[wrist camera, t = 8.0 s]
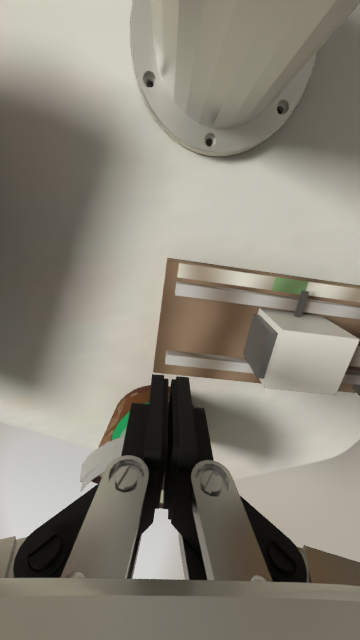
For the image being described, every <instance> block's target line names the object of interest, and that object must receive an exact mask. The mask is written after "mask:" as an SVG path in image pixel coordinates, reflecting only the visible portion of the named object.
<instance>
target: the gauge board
mask: <svg viewBox="0 0 360 640" xmlns="http://www.w3.org/2000/svg"><path fill="white" fill-rule="evenodd" d="M302 290H304V291H308V292H309V294H308V297H307V300H306V303H305V306H304V309H303V312H302V314H309V315H317V316H322V317H324V318H326V319H327V320H329V321H331V322H332V323H334V324H335V325H337V326H339V327H340V328H342V329H344V330H345V331H347V332H349V333H350V334H352V335H354V336H355V337H357V338H359V339H360V286H359V285H352V284H345V283H338V282H331V281H324V280H317V279H310V278H303V277H296V276H289V275H282V274H275V273H269V272H262V271H255V270H248V269H241V268H234V267H227V266H220V265H213V264H206V263H199V262H192V261H185V260H178V259H171V258H167V266H166V274H165V282H164V290H163V297H162V305H161V313H160V321H159V329H158V337H157V345H156V352H155V360H154V369H153V372H155V373H164V374H174V375H184V376H194V377H204V378H214V379H224V380H234V381H244V382H254V383H261V381H260V379H259V378H256V376H255V374H254V372H253V371H252V369H251V367H250V366H249V364H248V362H247V360H246V359H245V357H244V355H243V352H244V348H245V344H246V340H247V336H248V333H249V329H250V325H251V321H252V317H253V314H255V315H258V311H259V308H263V309H270V310H278V311H286V312H294V313H295V310H296V307H297V304H298V301H299V298H300V295H301V291H302ZM338 391H343V392H353V393H357V394H358V395H359V396H360V340H359V343H358V345H357V347H356V350H355V352H354V354H353V356H352V359H351V361H350V363H349V366H348V368H347V370H346V373H345V375H344V377H343V379H342V382H341V384H340V386H339V389H338Z"/></svg>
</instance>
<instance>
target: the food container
mask: <svg viewBox="0 0 360 640" xmlns="http://www.w3.org/2000/svg"><path fill="white" fill-rule="evenodd" d="M170 388H171V387H168V402H169V395H170ZM150 391H151V385H149V386H144V387H141V388H138V389H135V390H134V391H132V392H130V393H129V394H127V395H126V396H125V397H124V398H123V399H122V400H121V401H120V402H119V404H118V405H117V407H116V409H115V412H114V414H113V416H112V418H111V421H110V423H109V425H108V427H107V430H106V432H105V434H104V436H103V439H102V441H101V443H100V445H99V448H98V449H96V450H95V451H94V452H93V453H92V454H90V455H89V456H88V457H87V459H86V460H85V461H84V463H83V464H82V469H81V477H80V482H83V483H82V487H81V491H82V490H83V489H84V487H85V486H86V485H87V484H88V483H89V482H90V481H92V482H94V483H97V484H99V483H100V481H101V479H102V477H103V474H104V472H105V470H106V468H107V466H108V465H109V464H110V463H111V462H112V461H113V460H114V459H116V458H118V457H121V454H122V449H123V444H124V439H125V434H126V429H127V424H128V419H129V414H130V409H131V404H132V403H142V404H149V401H150ZM192 407H194V406H193V405H192ZM163 489H164V479H163V485H162V492H161V498H160V504H159V508H163Z"/></svg>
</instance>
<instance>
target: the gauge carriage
mask: <svg viewBox="0 0 360 640" xmlns="http://www.w3.org/2000/svg"><path fill="white" fill-rule="evenodd" d="M308 294H309V292H308V291H304V290H302V291H301V295H300V298H299V301H298V304H297V307H296V310H295V313H294V312H286V311H278V310H270V309H263V308H259V311H258V315H255V314H253V317H252V321H251V325H250V329H249V333H248V336H247V340H246V344H245V348H244V352H243V355H244V357H245V359H246V360H247V362H248V364H249V366H250V367H251V369H252V371H253V372H254V374H255V376H256V378H259V379H260V381H261V383H262V384H263V386H264V388H270V389H280V390H290V391H300V392H310V393H320V394H330V395H336V393H337V391H338V389H339V386H340V384H341V382H342V379H343V377H344V375H345V373H346V370H347V368H348V366H349V363H350V361H351V359H352V356H353V354H354V352H355V350H356V347H357V345H358V343H359V340H360V339H359V338H357V337H355V336H354V335H352V334H350V333H349V332H347V331H345V330H344V329H342V328H340V327H339V326H337V325H335V324H334V323H332V322H331V321H329V320H327V319H326V318H324V317H322V316H317V315H309V314H302V312H303V309H304V306H305V303H306V300H307V297H308Z"/></svg>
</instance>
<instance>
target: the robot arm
mask: <svg viewBox="0 0 360 640" xmlns="http://www.w3.org/2000/svg"><path fill="white" fill-rule="evenodd" d="M359 3H360V0H133V1H132V9H131V16H130V47H131V54H132V60H133V66H134V71H135V75H136V79H137V83H138V87H139V89H140V92H141V94H142V96H143V99H144V101H145V104H146V106H147V108H148V109H149V111H150V113H151V114H152V116H153V117H154V119H155V121H156V122H157V123H158V124H159V126H160V127H161V128H162V129H163V130H164V131H165V132H166V134H167V135H168V136H170V137H171V138H172V139H174V140H175V141H176V142H177V143H179V144H180V145H181V146H183V147H185V148H187V149H189V150H191V151H194V152H196V153H200V154H204V155H208V156H230V155H234V154H239V153H242V152H245V151H247V150H249V149H251V148H254V147H256V146H257V145H259V144H260V143H261V142H263V141H264V140H266V139H267V138H269V137H270V136H271V135H272V134H273V133H274V132H275V131H276V130H278V129H279V128H280V127H281V126H282V125H283V123H284V122H285V121H286V120H287V119H288V118H289V117H290V115H291V114H292V113H293V111H294V109H295V108H296V106H297V104H298V103H299V101H300V99H301V98H302V96H303V94H304V92H305V89H306V87H307V85H308V82H309V80H310V77H311V75H312V71H313V67H314V64H315V60H316V56H317V52H318V50H319V49H320V48H321V47H322V46H323V44H324V43H325V42H326V41H327V40H328V39H329V38H330V36H331V35H332V34H333V33H334V32H335V31H336V30H337V28H338V27H339V26H340V25H341V24H342V23H343V22H344V20H345V19H346V18H347V17H348V16H349V15H350V14H351V12H352V11H353V10H354V9H355V8H356V7H357V6H358V4H359ZM148 82H152V83H153V84H154V85H153V87H147V83H148ZM277 108H278V109H280V111H281V114H279V113H278V112H277ZM206 140H211V142H212V145H211V146H207V145H206ZM163 479H164V489H163V509H168V519H171V524H172V525H173V526H174V527H175V528H176V529H177V531H178V532H179V543H180V550H181V556H182V563H183V569H184V575H185V580H162V579H132V578H133V573H134V569H135V564H136V559H137V554H138V550H139V546H140V541H141V535H142V533H143V532H144V531H145V530H146V529H147V528H148V527H149V526H150V525H151V524H152V523H153V518H154V512H155V508H156V509H157V508H158V509H159V504H160V498H161V492H162V485H163ZM0 640H360V562H356V561H353V560H349V559H347V558H343V557H340V556H337V555H334V554H330V553H327V552H324V551H321V550H317V549H314V548H311V547H308V546H305V545H304V546H303V548H299V547H296V545H295V544H294V543H293V542H292V541H291V540H290V539H289V538H288V537H286V536H285V535H284V534H283V533H282V532H281V531H280V530H279V529H277V528H276V527H275V526H274V525H273V524H272V523H271V522H269V521H268V520H267V519H266V518H265V517H263V515H262V514H260V513H259V512H258V511H257V510H256V509H255V508H254V507H252V506H251V505H250V504H249V503H248V502H247V501H246V500H244V499H243V498H242V497H241V496H240V495H239V493H238V491H237V488H236V485H235V483H234V480H233V477H232V476H231V474H230V472H229V471H228V470H227V469H226V467H225V466H223V465H222V464H220V463H219V462H216V461H214V460H213V455H212V449H211V444H210V438H209V432H208V427H207V421H206V415H205V410H204V408H194V407H192V402H191V393H190V384H189V378H188V377H176V380H174V379H172V381H171V388H170V395H169V402H168V379H164V375H153V374H152V382H151V391H150V401H149V404H142V403H132V404H131V409H130V414H129V419H128V424H127V429H126V434H125V439H124V444H123V449H122V454H121V457H118V458H116V459H114V460H113V461H112V462H111V463H110V464H109V465H108V466H107V468H106V470H105V472H104V474H103V477H102V479H101V481H100V483H99V484H98V485H96V486H95V487H94V488H92V489H91V490H90V491H88V492H87V493H86V494H84V495H83V496H81V497H80V498H79V499H77V500H76V501H74V502H73V503H72V504H70V505H69V506H68V507H66V508H65V509H63V510H62V511H61V512H59V513H58V514H57V515H55V516H54V517H53V518H51V519H50V520H48V521H47V522H46V523H44V524H43V525H42V526H40V527H39V528H37V529H36V530H35V531H34V532H33V533H31V534H30V535H29V536H28V537H26V538H21V539H17V540H16V538H15V536H14V537H9V538H5V539H0Z"/></svg>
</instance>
